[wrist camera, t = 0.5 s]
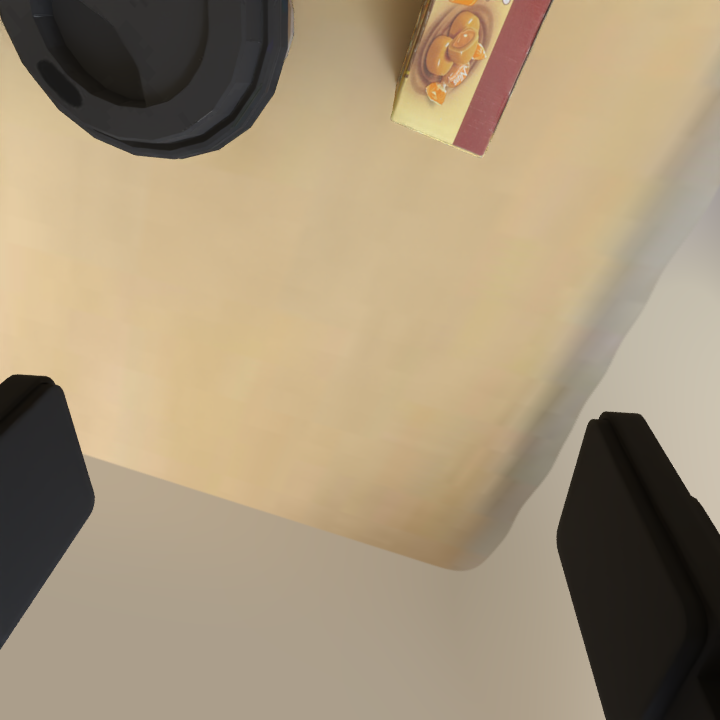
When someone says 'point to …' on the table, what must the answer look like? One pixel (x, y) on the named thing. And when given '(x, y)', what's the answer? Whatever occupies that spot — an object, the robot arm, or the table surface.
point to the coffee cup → (155, 66)
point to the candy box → (465, 68)
